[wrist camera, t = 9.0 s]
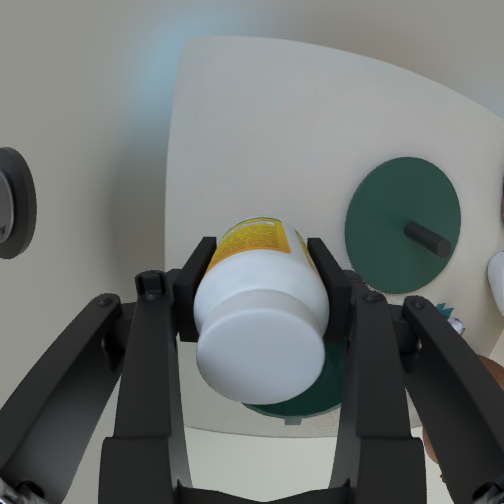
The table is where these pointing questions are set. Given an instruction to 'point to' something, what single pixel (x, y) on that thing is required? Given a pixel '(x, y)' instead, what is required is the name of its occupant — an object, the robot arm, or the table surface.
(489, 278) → the vase
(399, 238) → the stewpot lid
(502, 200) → the stone
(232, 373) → the supplement bottle
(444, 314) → the figurine
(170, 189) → the table surface
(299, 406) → the stewpot
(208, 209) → the table surface
